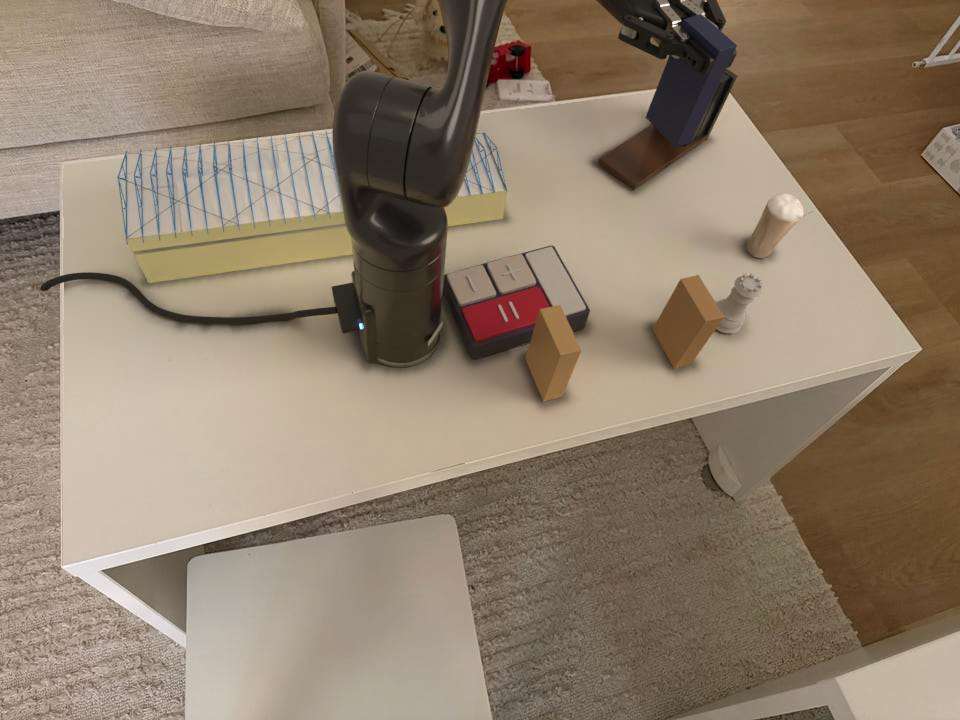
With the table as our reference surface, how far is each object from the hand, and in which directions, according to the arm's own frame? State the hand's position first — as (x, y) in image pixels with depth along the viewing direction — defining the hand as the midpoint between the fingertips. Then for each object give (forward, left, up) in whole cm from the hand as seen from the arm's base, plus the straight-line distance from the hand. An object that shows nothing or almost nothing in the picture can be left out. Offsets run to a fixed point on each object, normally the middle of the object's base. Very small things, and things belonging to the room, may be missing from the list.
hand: (720, 64), depth 72 cm
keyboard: (-42, +11, -25) cm, 50 cm away
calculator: (-24, -9, -25) cm, 36 cm away
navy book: (-1, +3, -11) cm, 11 cm away
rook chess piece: (+2, -18, -25) cm, 30 cm away
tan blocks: (-15, -20, -24) cm, 35 cm away
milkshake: (+13, -9, -25) cm, 29 cm away
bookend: (+7, +13, -24) cm, 28 cm away
